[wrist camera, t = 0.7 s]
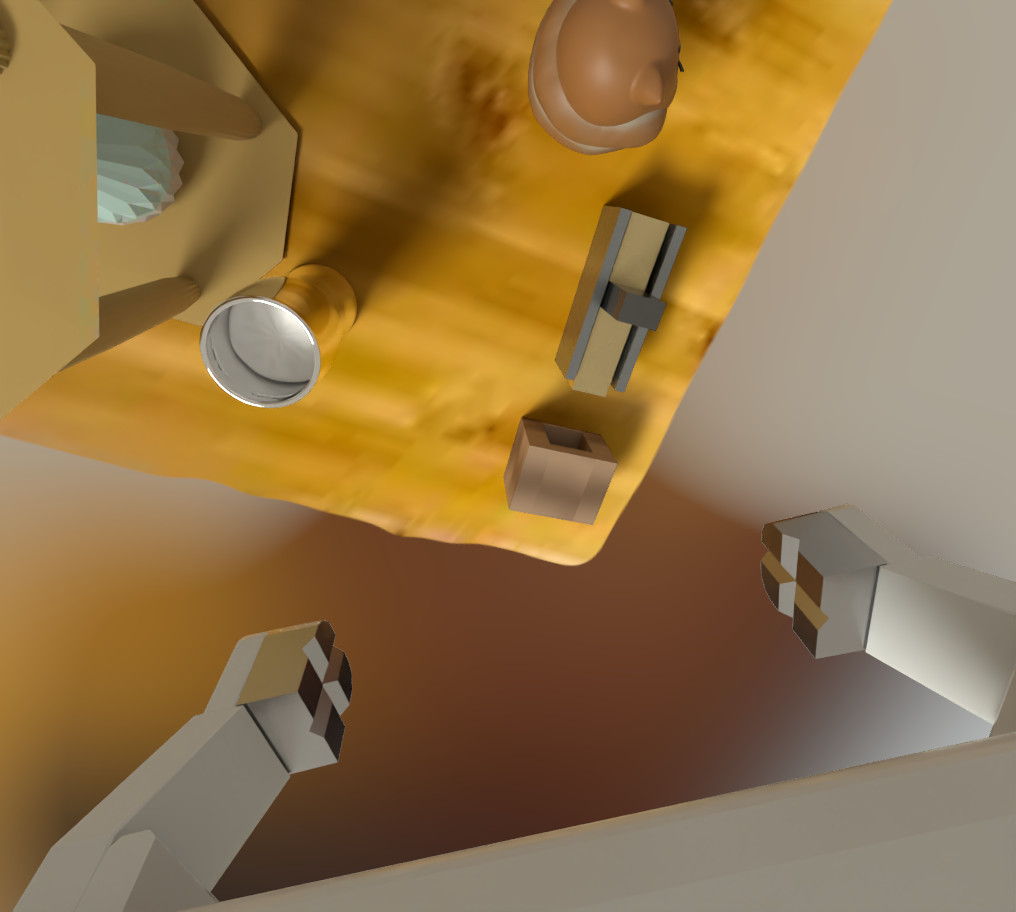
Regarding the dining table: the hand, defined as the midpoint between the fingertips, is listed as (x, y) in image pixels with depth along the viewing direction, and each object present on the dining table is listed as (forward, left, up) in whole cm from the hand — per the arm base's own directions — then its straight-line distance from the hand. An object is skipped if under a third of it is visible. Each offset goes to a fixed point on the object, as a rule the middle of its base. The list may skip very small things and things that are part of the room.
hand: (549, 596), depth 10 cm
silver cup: (+5, -12, -38) cm, 41 cm away
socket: (+14, +11, -38) cm, 42 cm away
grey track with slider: (-1, +11, -38) cm, 40 cm away
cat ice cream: (-14, +3, -38) cm, 41 cm away
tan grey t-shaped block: (-1, +11, -37) cm, 39 cm away
